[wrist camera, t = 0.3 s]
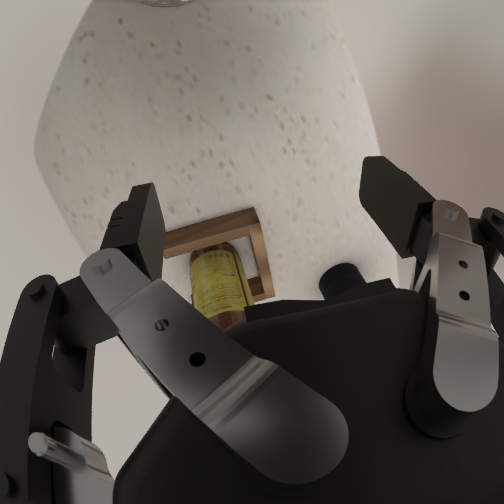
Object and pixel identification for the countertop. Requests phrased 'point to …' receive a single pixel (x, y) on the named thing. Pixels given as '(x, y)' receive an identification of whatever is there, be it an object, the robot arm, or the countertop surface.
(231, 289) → the sauce bottle
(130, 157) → the countertop surface
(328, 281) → the black water bottle
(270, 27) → the countertop surface
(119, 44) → the countertop surface
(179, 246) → the walnut cradle
